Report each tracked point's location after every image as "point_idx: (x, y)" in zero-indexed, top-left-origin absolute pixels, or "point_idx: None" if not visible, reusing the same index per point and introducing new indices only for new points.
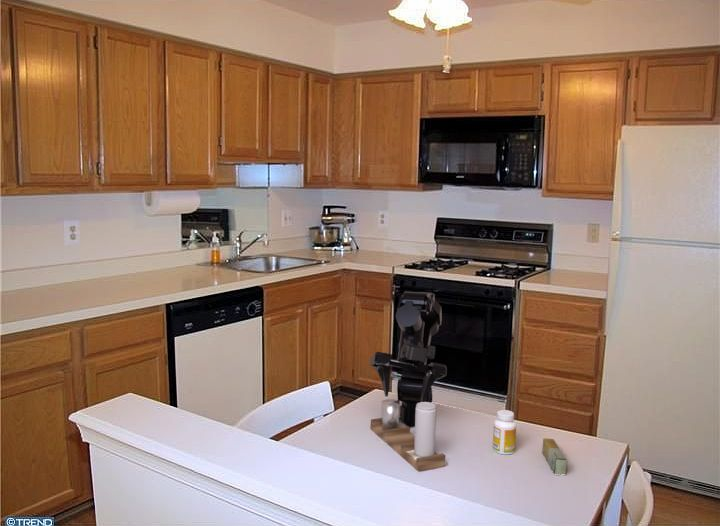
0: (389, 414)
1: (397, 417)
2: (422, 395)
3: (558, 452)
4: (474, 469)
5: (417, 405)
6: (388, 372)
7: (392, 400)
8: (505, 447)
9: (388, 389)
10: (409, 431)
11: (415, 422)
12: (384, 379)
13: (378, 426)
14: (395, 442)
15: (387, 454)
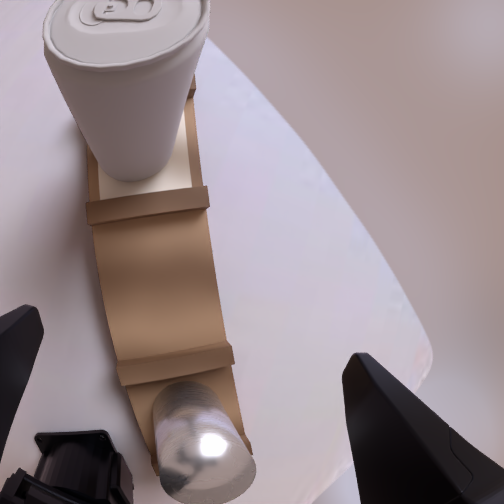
0: (215, 418)
1: (169, 414)
2: (9, 361)
3: None
4: (29, 77)
5: (190, 29)
6: (492, 501)
7: (193, 494)
8: None
9: (380, 386)
10: (120, 361)
11: (189, 88)
12: (464, 441)
13: None
14: (204, 280)
15: (243, 236)
